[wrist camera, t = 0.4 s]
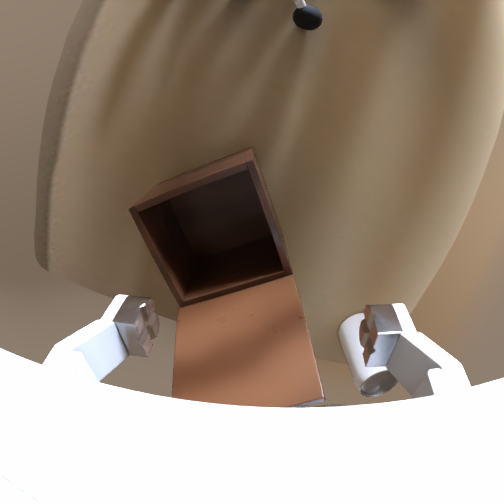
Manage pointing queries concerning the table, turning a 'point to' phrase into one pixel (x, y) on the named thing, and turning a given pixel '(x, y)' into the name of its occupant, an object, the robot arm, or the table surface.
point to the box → (213, 230)
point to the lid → (247, 350)
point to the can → (365, 378)
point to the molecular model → (306, 16)
